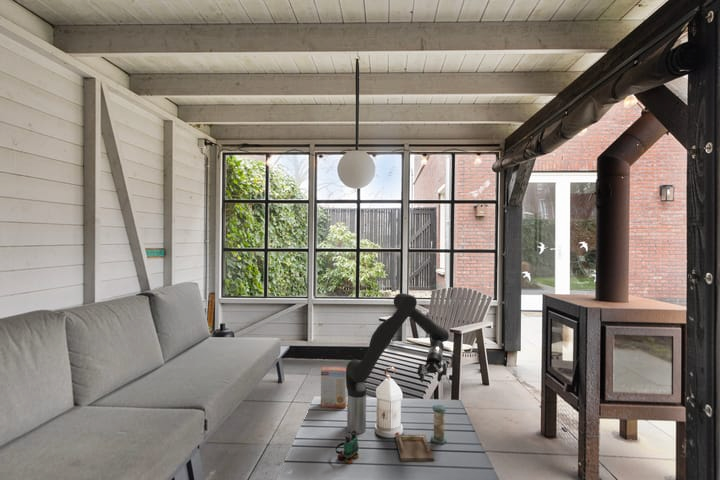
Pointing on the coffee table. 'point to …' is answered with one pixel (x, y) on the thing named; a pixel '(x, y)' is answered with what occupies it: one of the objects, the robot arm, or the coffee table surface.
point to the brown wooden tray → (414, 448)
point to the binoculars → (349, 448)
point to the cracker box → (333, 387)
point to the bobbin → (438, 425)
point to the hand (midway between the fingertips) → (429, 380)
